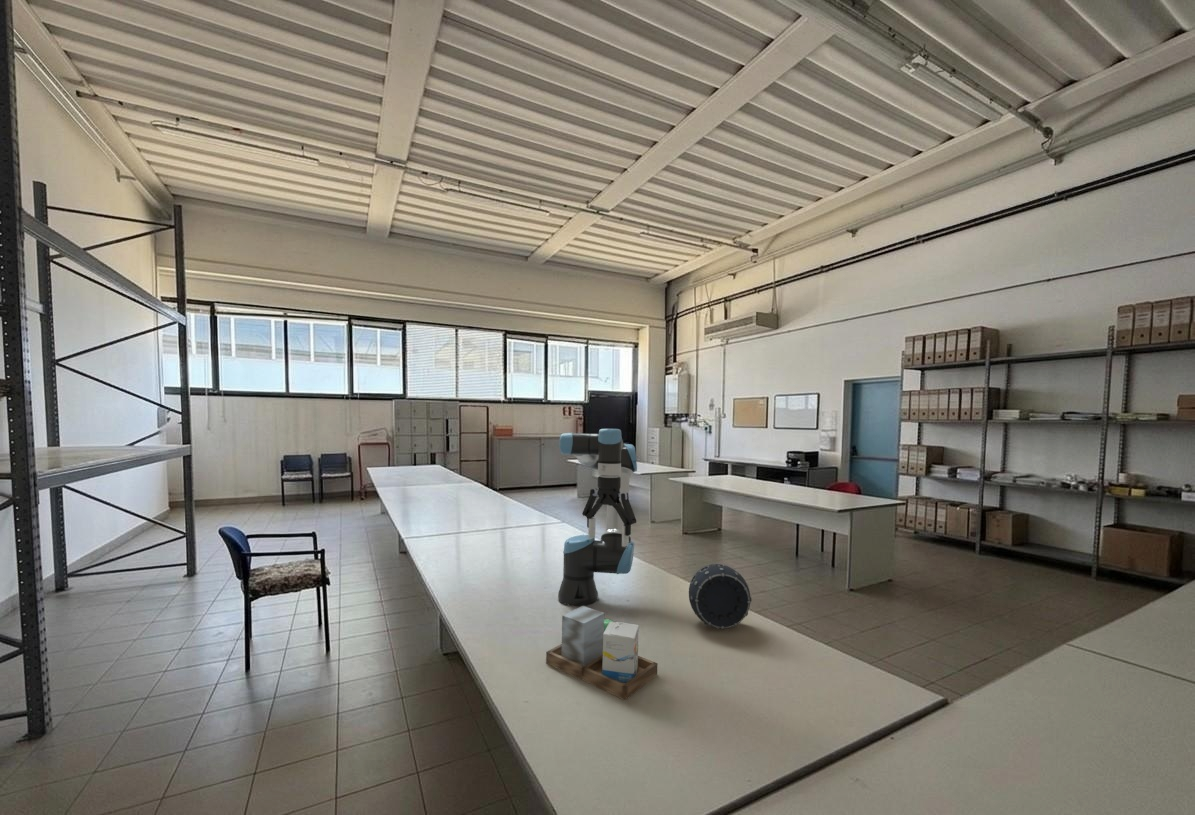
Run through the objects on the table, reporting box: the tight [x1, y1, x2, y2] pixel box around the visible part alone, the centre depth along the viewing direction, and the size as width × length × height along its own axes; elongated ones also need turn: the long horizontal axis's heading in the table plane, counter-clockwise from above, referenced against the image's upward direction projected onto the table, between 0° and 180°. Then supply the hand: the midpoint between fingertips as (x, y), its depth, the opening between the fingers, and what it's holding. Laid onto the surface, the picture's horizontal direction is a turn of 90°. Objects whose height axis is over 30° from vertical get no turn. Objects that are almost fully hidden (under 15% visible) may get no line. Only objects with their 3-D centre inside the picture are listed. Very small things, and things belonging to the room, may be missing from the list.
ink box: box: [602, 621, 640, 683], centre depth 124 cm, size 9×8×12 cm
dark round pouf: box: [688, 563, 753, 630], centre depth 157 cm, size 11×20×20 cm, turn 89°
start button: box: [604, 618, 614, 631], centre depth 145 cm, size 4×4×5 cm
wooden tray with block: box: [545, 606, 658, 701], centre depth 129 cm, size 27×15×13 cm, turn 52°
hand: (608, 541), depth 152 cm, fingers open, 13 cm apart
